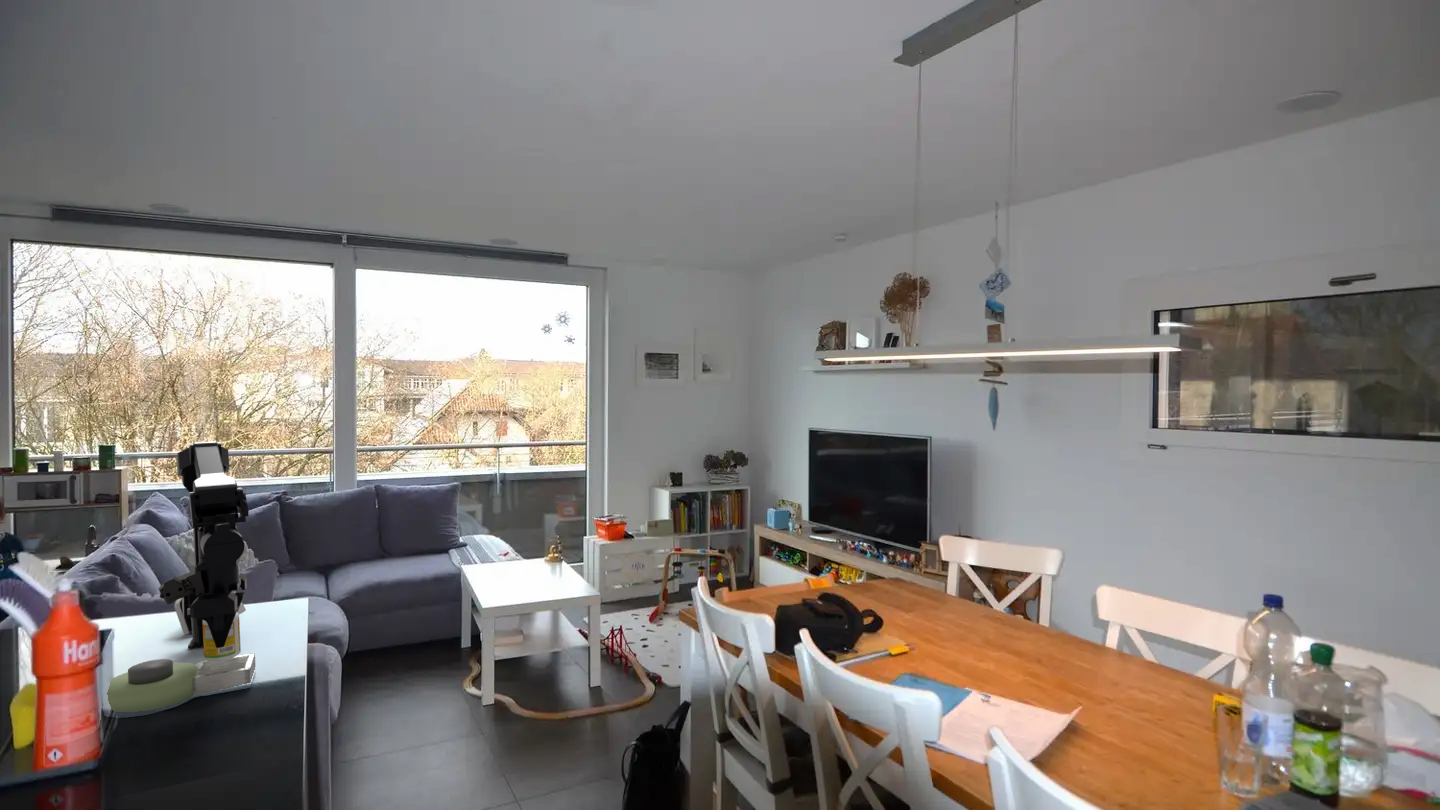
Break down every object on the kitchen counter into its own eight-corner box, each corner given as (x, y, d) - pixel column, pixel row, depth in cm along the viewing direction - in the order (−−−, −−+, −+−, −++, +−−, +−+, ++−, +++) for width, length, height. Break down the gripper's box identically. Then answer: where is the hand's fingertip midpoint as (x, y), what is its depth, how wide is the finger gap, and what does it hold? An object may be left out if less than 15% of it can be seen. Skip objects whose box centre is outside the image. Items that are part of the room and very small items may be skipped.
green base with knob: (114, 694, 129) (112, 660, 129) (205, 679, 135) (203, 646, 135) (91, 725, 118) (89, 687, 117) (191, 707, 123) (190, 671, 123)
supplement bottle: (218, 650, 135) (216, 597, 135) (247, 650, 135) (245, 597, 135) (196, 662, 130) (194, 606, 129) (227, 662, 130) (224, 606, 129)
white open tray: (199, 680, 134) (198, 661, 134) (255, 671, 138) (254, 652, 138) (190, 698, 127) (189, 678, 127) (250, 688, 131) (249, 668, 130)
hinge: (208, 633, 161) (189, 590, 160) (186, 642, 160) (167, 599, 159) (246, 609, 177) (229, 570, 176) (226, 617, 177) (209, 578, 176)
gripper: (173, 549, 136) (177, 634, 137) (149, 572, 120) (154, 669, 120) (245, 542, 141) (249, 624, 142) (232, 563, 125) (236, 656, 125)
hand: (222, 642), depth 132 cm, fingers closed on supplement bottle, 5 cm apart
